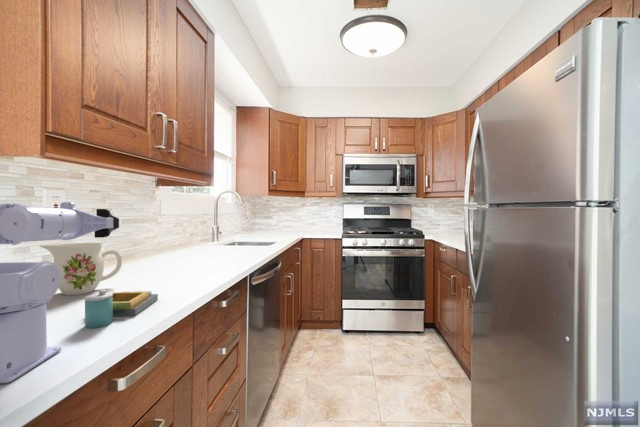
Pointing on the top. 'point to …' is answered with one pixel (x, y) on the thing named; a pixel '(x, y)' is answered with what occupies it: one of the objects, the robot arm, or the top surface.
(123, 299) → the gray yellow rectangular tray
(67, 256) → the pitcher
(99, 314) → the spout can
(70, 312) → the top surface
